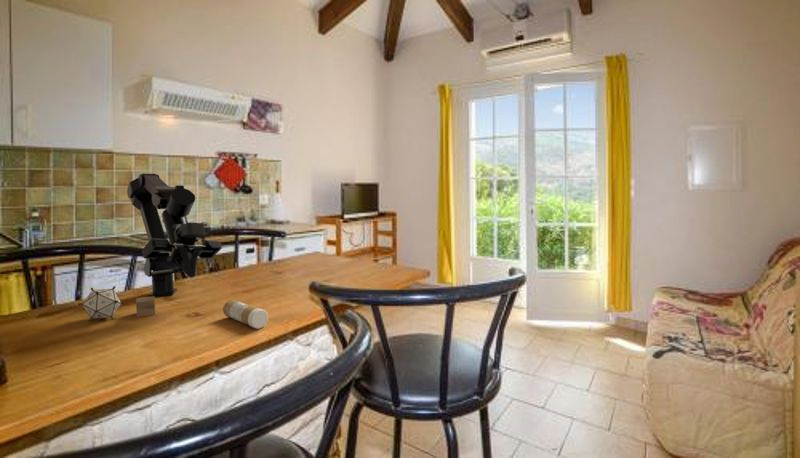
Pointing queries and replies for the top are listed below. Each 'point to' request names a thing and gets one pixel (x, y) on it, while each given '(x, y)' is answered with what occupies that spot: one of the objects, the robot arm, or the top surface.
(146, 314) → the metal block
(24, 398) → the top surface
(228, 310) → the sprinkles bottle
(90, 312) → the game die
